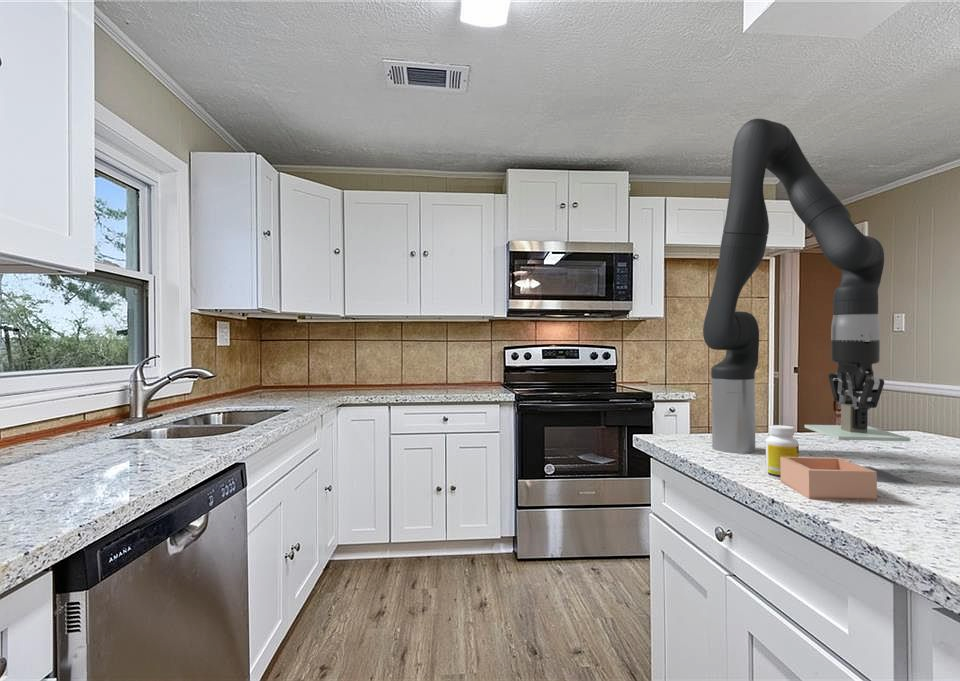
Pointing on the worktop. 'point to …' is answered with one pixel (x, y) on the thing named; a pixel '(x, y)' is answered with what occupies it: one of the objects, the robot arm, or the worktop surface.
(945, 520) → the worktop surface
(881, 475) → the mat
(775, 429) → the supplement bottle
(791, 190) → the robot arm
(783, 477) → the dish
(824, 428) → the lid
